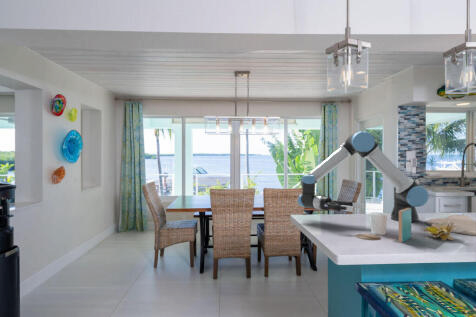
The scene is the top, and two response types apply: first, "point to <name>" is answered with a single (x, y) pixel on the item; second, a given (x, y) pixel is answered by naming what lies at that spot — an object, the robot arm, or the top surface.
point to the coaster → (368, 237)
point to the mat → (422, 242)
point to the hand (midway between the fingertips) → (358, 207)
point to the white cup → (378, 223)
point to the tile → (404, 224)
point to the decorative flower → (441, 230)
